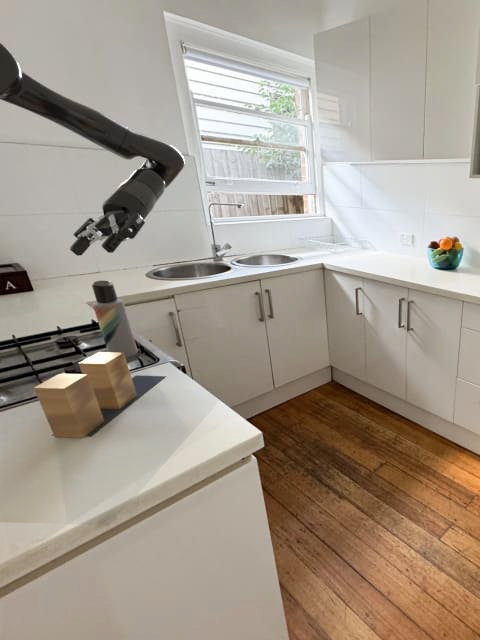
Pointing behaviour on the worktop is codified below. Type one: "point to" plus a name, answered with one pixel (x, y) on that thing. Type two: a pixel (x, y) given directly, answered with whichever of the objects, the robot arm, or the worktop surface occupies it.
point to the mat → (141, 387)
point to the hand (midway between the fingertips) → (90, 251)
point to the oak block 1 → (70, 405)
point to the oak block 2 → (109, 379)
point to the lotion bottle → (113, 320)
